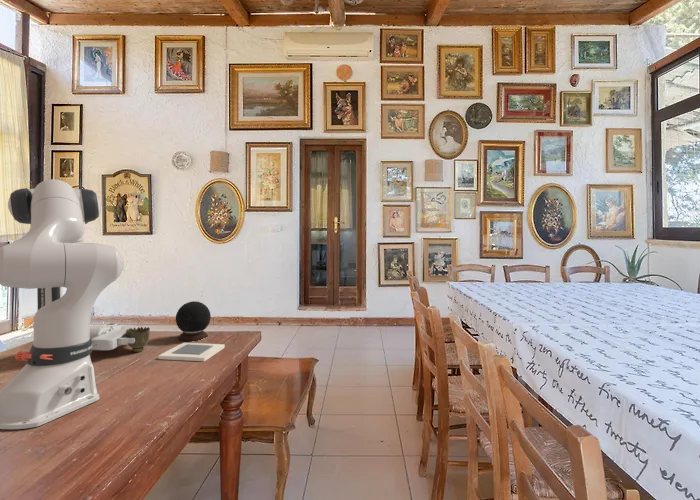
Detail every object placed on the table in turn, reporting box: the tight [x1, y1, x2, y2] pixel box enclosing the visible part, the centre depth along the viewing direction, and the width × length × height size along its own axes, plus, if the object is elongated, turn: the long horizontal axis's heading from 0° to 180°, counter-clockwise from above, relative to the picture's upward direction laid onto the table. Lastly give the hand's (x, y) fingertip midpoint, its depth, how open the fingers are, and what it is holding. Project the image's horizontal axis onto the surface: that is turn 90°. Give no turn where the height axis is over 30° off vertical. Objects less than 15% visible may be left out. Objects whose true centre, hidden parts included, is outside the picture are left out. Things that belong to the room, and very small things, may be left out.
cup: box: [126, 326, 151, 353], centre depth 131 cm, size 8×7×8 cm
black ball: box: [175, 300, 212, 343], centre depth 151 cm, size 13×13×15 cm
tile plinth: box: [157, 342, 226, 362], centre depth 131 cm, size 16×16×2 cm
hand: (140, 337), depth 132 cm, fingers closed on cup, 7 cm apart
